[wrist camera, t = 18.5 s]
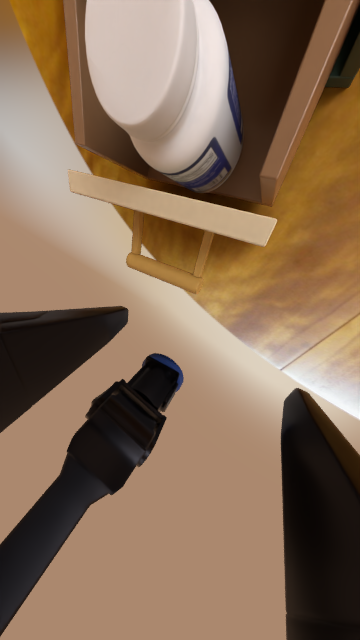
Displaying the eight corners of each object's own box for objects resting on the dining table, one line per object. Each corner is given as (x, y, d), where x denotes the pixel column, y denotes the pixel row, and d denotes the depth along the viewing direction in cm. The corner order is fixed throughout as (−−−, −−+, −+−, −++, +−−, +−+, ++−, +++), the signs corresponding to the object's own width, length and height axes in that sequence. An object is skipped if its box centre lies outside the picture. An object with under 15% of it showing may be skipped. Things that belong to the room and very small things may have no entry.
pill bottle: (188, 92, 12) (60, -144, 4) (259, 104, 10) (246, -193, 3) (169, 185, 14) (75, 134, 7) (224, 202, 13) (176, 162, 6)
